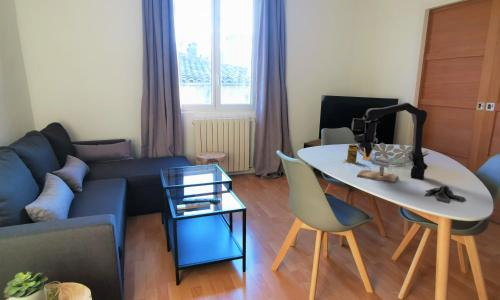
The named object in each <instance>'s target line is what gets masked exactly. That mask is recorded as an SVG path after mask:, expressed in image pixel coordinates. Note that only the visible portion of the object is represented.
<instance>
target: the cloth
mask: <svg viewBox="0 0 500 300" xmlns="http://www.w3.org/2000/svg"><path fill="white" fill-rule="evenodd" d="M425 191H426V192H425V193H424V194H425V195H423V196H424V197H430V196H431V195H434V196H435V197H436V199H435V200H436V201H437V202H441V203H445V204H450V202H451V201H450V200H451V199H452V200H455V201H457V202H458V203H464V201H465V200H466V198H465V197H464V196H461V195H456V194H453V191H452V190H451V189H450V187H449V186H448V185H441V186H440V187H434V188H430V189H427V190H425Z"/></svg>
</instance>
